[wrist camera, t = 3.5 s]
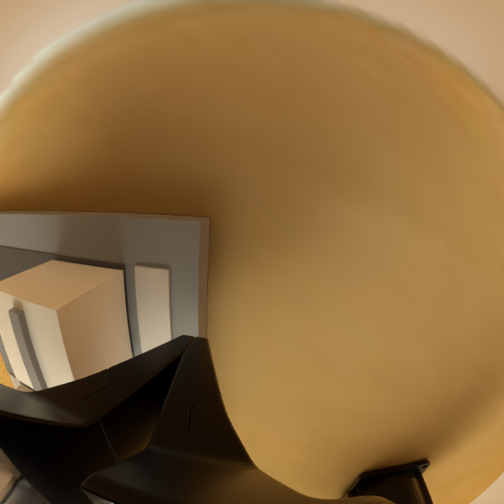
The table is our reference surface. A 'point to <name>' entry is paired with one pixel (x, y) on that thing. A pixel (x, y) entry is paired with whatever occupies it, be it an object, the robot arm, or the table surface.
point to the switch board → (121, 264)
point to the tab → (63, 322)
